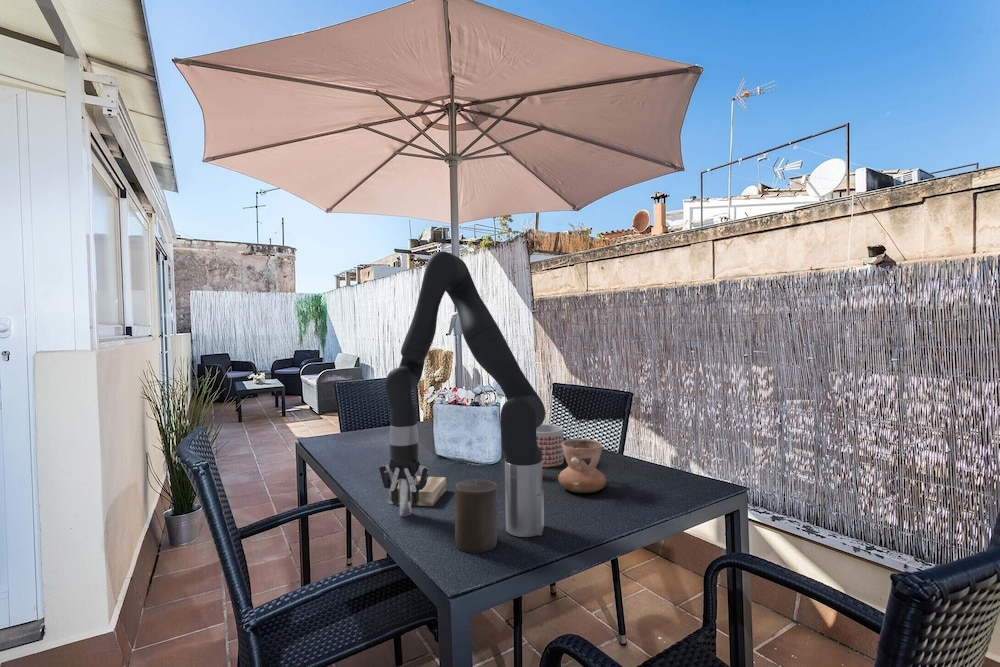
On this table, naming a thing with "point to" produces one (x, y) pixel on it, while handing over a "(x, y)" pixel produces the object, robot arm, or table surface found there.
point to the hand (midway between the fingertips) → (405, 503)
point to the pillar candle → (476, 515)
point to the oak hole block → (428, 491)
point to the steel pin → (404, 497)
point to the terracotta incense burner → (582, 466)
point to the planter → (550, 444)
